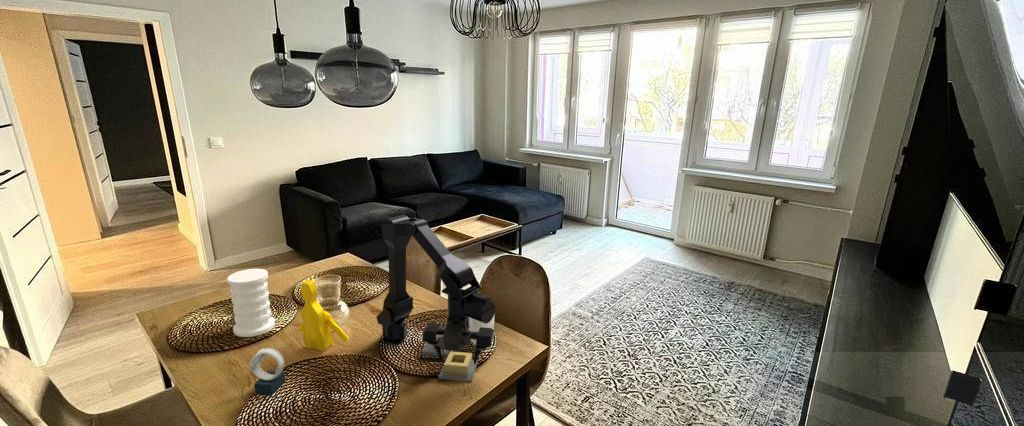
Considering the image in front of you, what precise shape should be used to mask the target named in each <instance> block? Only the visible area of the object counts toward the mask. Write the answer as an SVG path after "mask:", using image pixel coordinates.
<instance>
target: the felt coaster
mask: <svg viewBox="0 0 1024 426" xmlns="http://www.w3.org/2000/svg"><path fill="white" fill-rule="evenodd" d="M445 362H446V360H445ZM445 362H444V364H445ZM477 362H478V363H479V361H478V359H477ZM477 362H476V364H475V365H474V359H472V365H471V368H470V371H469V374H468V376H458V375H447V374H444V364H443V365H442V369H441V371H440V373H439V375H438V379H440V380H449V381H460V382H470V383H472V382H473V377H474V375H475V373H476V368H477V366H478V363H477Z"/></svg>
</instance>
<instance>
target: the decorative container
mask: <svg viewBox="0 0 1024 426" xmlns="http://www.w3.org/2000/svg"><path fill="white" fill-rule="evenodd" d="M268 278H269V273H268V271H267V270H266V269H264V268H249V269H247V268H246V269H242V270H239V271H235V272H233V273H231V274H229V275H228V276H227V279H226V280H227V284H228V285H229V286H230V293H231V295H232V297H231V303H232V304H233V306H232V307H233V308H232V311H233V313H234V321H235V324H234V325H233V326H232V327H233V328H232V333H233V334H234V335H235V336H237V337H240V338H242V337H243V338H250V337H255V336H257V337H258V336H260V335H263V334H266V333H268V332H269V331H271V330H272V329H273V328H274V327H275V325H276V321H275V320H276V319H275V318H274V317H273V316H272V310H271V308H270V306H271V302H270V291H269V290H268V287H269V283H268V281H267V279H268Z"/></svg>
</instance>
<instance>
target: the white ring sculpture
mask: <svg viewBox="0 0 1024 426" xmlns="http://www.w3.org/2000/svg"><path fill="white" fill-rule="evenodd" d="M267 356H270V357H271V358H273V359H274V360H275V361H276V363H277V367H276V370H267V371H264V370H263V368H261V364H262V363H263V361H264V360H265V358H266V357H267ZM285 364H286V362H285V358H284V356H283V355H282V353H280V351H279V350H277V349H275V348H273V347H265V348H261V349H259V351H257V352H256V353H255V354H254V355H253V356H252V358H251V360H250V362H249V363H248V367H250V371H251V372H252V373H253V374H254V376H256V377H257V378H258V380H257V381H255V383H254V391H255V395H256V396H265V397H266V396H267V397H273V396H274V395H275V394H276V393H277V392H278V391H279V390H280V389H281V388H282V387H283V386H284V385H285V384H286V383H285V382H286V376H285V372H284V371H283V370H284V369H285ZM284 383H285V384H284ZM283 384H284V385H283ZM282 385H283V386H282ZM281 386H282V387H281ZM280 387H281V388H280ZM279 388H280V389H279ZM278 389H279V390H278ZM277 390H278V391H277ZM276 391H277V392H276ZM275 392H276V393H275ZM274 393H275V394H274ZM273 394H274V395H273ZM272 395H273V396H272Z"/></svg>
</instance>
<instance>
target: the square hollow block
mask: <svg viewBox="0 0 1024 426" xmlns="http://www.w3.org/2000/svg"><path fill="white" fill-rule="evenodd" d="M472 360H473V353H472V352H463V351H461V352H460V351H453V350H449V352H448V355H447V357H446V359H445V361H446V362H444V363H445V364H443V366H444V374H447V375H458V376H468V374H469V371H470V368H471V365H472Z"/></svg>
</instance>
